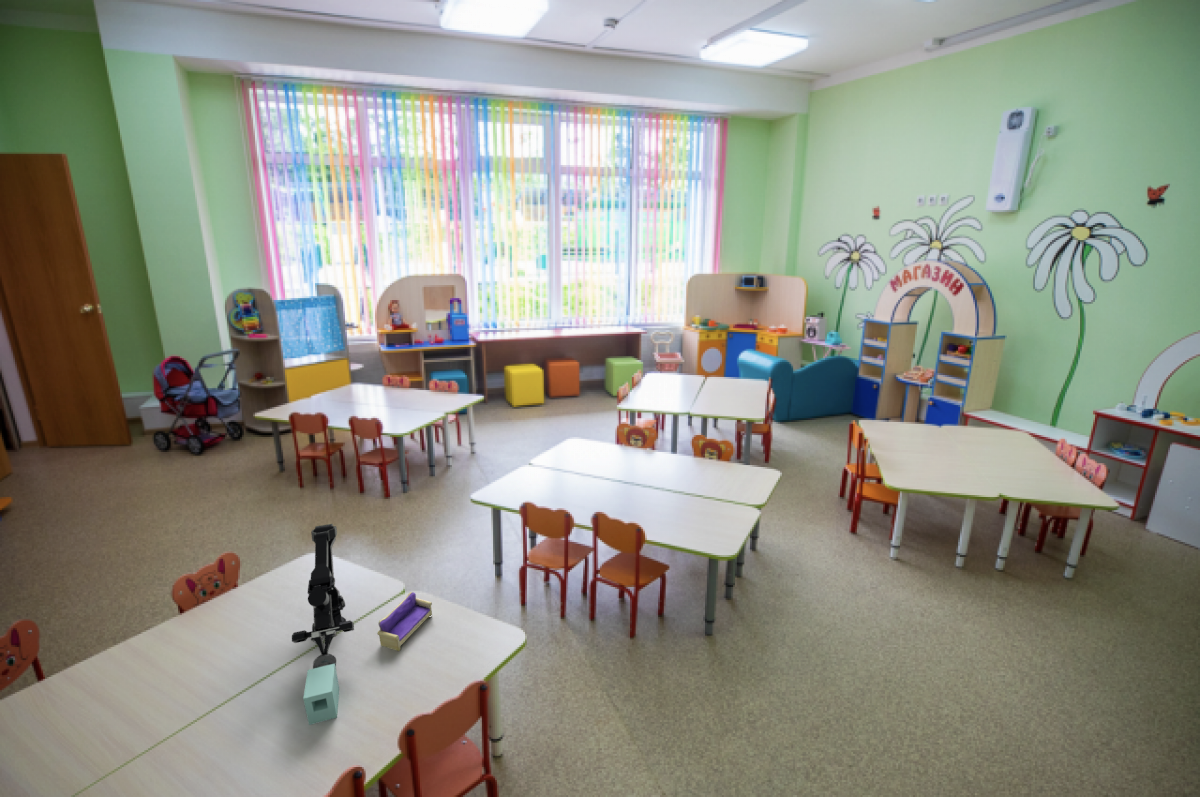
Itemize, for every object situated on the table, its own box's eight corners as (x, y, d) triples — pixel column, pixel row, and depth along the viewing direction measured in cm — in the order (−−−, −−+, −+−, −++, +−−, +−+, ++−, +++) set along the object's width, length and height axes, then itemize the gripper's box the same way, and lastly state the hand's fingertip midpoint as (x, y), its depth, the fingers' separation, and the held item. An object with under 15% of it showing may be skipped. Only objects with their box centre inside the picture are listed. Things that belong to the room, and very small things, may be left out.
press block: (312, 695, 187) (307, 669, 184) (339, 688, 190) (334, 663, 187) (308, 725, 177) (303, 698, 173) (337, 717, 179) (332, 691, 176)
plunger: (315, 673, 192) (311, 656, 190) (337, 667, 195) (334, 651, 192) (311, 702, 181) (307, 684, 179) (335, 695, 183) (332, 678, 181)
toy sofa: (398, 653, 205) (394, 629, 202) (378, 646, 208) (375, 623, 205) (434, 616, 224) (431, 594, 221) (415, 610, 227) (413, 589, 224)
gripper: (354, 608, 209) (357, 653, 203) (297, 620, 203) (298, 667, 197) (350, 603, 200) (353, 650, 193) (290, 615, 193) (292, 665, 187)
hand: (324, 658), depth 193 cm, fingers closed
